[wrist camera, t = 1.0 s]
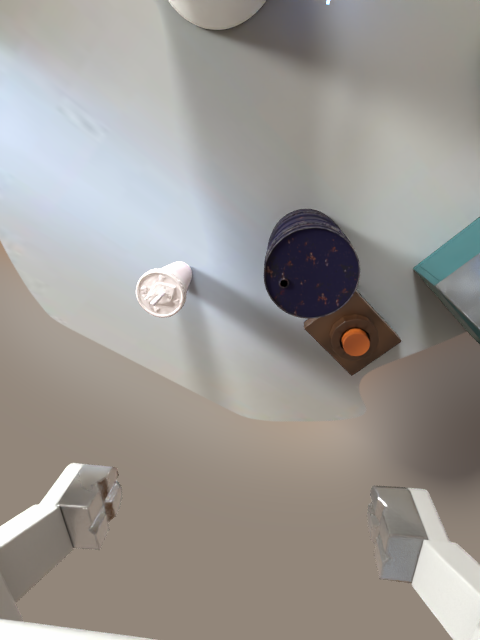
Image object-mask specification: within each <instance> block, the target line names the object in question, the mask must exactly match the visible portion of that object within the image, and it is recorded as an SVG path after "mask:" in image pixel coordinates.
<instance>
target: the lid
mask: <svg viewBox="0 0 480 640" xmlns="http://www.w3.org/2000/svg"><path fill="white" fill-rule="evenodd" d="M435 287H436V288H437V289H438V290H439V291H440V292H441V293H442V294H443V295H444V296H445V297H446V298H447V299H448V300H449V301H450V302H451V303H452V304H453V305H454V306H455V307H456V308H457V309H458V310H459V311H460V312H462V313H463V314H464V315H465V316H466V317H467V318H468V319H469V320H470V321H471V322H472V323H473V324H474V325H475V326H476V327H477V328H478V329H479V330H480V253H479V254H477V255H476V256H475V257H473V258H472V259H471V260H469V261H468V262H466V263H465V264H464V265H462V266H461V267H460V268H458V269H457V270H455V271H454V272H453V273H451V274H450V275H449V276H447V277H446V278H444V279H443V280H442V281H440V282H439V283H438V284H436V285H435Z"/></svg>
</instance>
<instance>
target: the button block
mask: <svg viewBox="0 0 480 640" xmlns="http://www.w3.org/2000/svg"><path fill="white" fill-rule="evenodd" d="M352 328H358V329H361V330H363V331H364V332H365V333H366V334H367V337H368V339H369V341H370V347H369V349H368V351H367V352H366V353H364V354H363V355H360V356H351V355H349V354H347V353H346V352H345V350H344V348H343V345H342V341H341V339H342V336H343V334H344V333H345V332H346V331H347V330H349V329H352ZM304 329H305V330H306V331H307V332H308V333H309V334H310V335H311V336H312V337H313V338H314V339H315V340H316V341H317V342H318V343H319V344H320V345H321V346H322V347H323V348H324V349H325V350H326V351H327V352H328V353H329V354H330V355H331V356H332V357H333V358H334V359H335V360H336V361H337V362H338V363H339V364H340V365H341V366H342V367H343V368H344V369H345V370H346V371H347V372H348V373H349V374H350V375H351V376H352V375H354V374H355V373H357V372H358V371H360V370H361V369H362V368H364V367H365V366H367V365H368V364H370V363H371V362H373V361H374V360H375V359H377V358H378V357H380V356H381V355H383V354H384V353H386V352H387V351H388V350H390V349H391V348H393V347H394V346H396V345H397V344H399V343H400V342H401V339H400V338H399V336H398V335H397V334H396V332H395V331H394V330H393V329H392V328H391V327H390V326H389V325H388V324H387V323H386V322H385V321H384V320H383V318H382V317H381V316H380V315H379V314H378V313H377V312H376V311H375V310H374V309H373V308H372V307H371V306H370V304H369V303H368V302H367V301H366V300H365V299H364V298H363V297H362V296H361V295H360V294H359V293H358V292H357V290H355V292H354V294H353V296H352V297H351V298H350V300H349V301H348V302H347V303H346V304H345V305H344V306H343V307H342V308H340V309H339V310H337V311H336V312H334V313H332V314H330V315H327V316H324V317H320V318H310V319H308V320H306V321H305V322H304Z"/></svg>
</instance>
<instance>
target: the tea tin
mask: <svg viewBox="0 0 480 640" xmlns="http://www.w3.org/2000/svg"><path fill="white" fill-rule="evenodd" d="M479 253H480V217H479V218H478V219H476V220H475V221H474V222H473V223H471V224H470V225H469V226H467V227H466V228H465V229H463V230H462V231H461V232H460V233H458V234H457V235H456V236H454V237H453V238H452V239H450V240H449V241H448V242H447V243H445V244H444V245H443V246H441V247H440V248H439V249H437V250H436V251H435V252H434V253H432V254H431V255H430V256H428V257H427V258H426V259H424V260H423V261H422V262H421V263H419V264H418V265H417V266H415V267H414V268H413V269H414V270H415V271H416V273H417V274H418V275H419V276H420V277H421V278H422V279H423V281H424V282H425V283H426V284H427V285H428V286H429V288H430V289H431V290H432V291H433V292H434V293H435V295H436V296H437V297H438V298H439V299H440V300H441V301H442V303H443V304H444V305H445V306H446V307H447V308H448V310H449V311H450V312H451V313H452V314H453V315H454V317H455V318H456V319H457V320H458V321H459V322H460V323H461V325H462V326H463V327H464V328H465V329H466V330H467V332H468V333H469V334H470V335H471V336H472V337H473V338H474V339H475V340H476V341H477V342H478V343H479V344H480V330H479V329H478V328H477V327H476V326H475V325H474V324H473V323H472V322H471V321H470V320H469V319H468V318H467V317H466V316H465V315H464V314H463V313H462V312H460V311H459V310H458V309H457V308H456V307H455V306H454V305H453V304H452V303H451V302H450V301H449V300H448V299H447V298H446V297H445V296H444V295H443V294H442V293H441V292H440V291H439V290H438V289H437V288H436V287H435V285H436V284H438V283H439V282H440V281H442V280H443V279H444V278H446V277H447V276H449V275H450V274H451V273H453V272H454V271H455V270H457V269H458V268H460V267H461V266H462V265H464V264H465V263H466V262H468V261H469V260H471V259H472V258H473V257H475V256H476V255H477V254H479Z"/></svg>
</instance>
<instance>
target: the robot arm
mask: <svg viewBox="0 0 480 640" xmlns="http://www.w3.org/2000/svg"><path fill="white" fill-rule="evenodd" d="M168 1H169V2H170V4H171V5H172V6H173V8H174V9H175V10H176V11H177V12H178V13H179V14H180V15H181V16H182V17H183V18H185V19H186V20H188V21H189V22H191V23H193V24H194V25H197V26H199V27H202V28H206V29H212V30H222V29H228V28H231V27H235V26H237V25H239V24H241V23H243V22H245V21H246V20H248V19H249V18H250V17H252V16H253V15H254V14H255V13H256V12H257V11H258V10H259V9H260V8H261V7H262V6H263V4H264V3H265V2H266V0H168ZM329 3H330V0H327V2H326V4H329ZM118 475H119V474H118V471H117V468H116V467H109V466H100V465H90V464H77V463H71V464H70V465H68V466H67V467H66V469H65V470H64V471H63V473H62V474H61V476H60V477H59V478H58V480H57V481H56V482H55V484H54V485H53V487H52V488H51V489H50V491H49V492H48V493H47V495H46V496H45V497H44V499H43V500H42V501H41V503H40V504H39V505H33V506H32V507H30V508H29V509H27V510H25V511H24V512H22V513H21V514H19V515H18V516H16V517H15V518H13V519H11V520H10V521H8V522H7V523H5V524H3V525H2V526H0V640H156V639H149V638H141V637H134V636H127V635H119V634H112V633H104V632H96V631H89V630H82V629H74V628H66V627H59V626H52V625H44V624H37V623H29V622H23V620H22V615H21V614H20V611H19V609H18V607H17V605H16V602H17V601H18V600H19V599H20V598H22V597H23V596H24V595H25V594H26V593H27V592H28V591H29V590H30V589H31V588H32V587H33V586H34V585H36V584H37V583H38V582H39V581H40V580H41V579H42V578H43V577H44V576H45V575H46V574H48V573H49V572H50V571H51V570H52V569H53V568H54V567H55V566H56V565H57V564H58V563H59V562H61V561H62V560H63V559H64V558H65V557H66V556H67V555H68V554H69V553H70V552H71V551H72V550H73V548H82V549H96V550H99V549H100V548H101V546H102V544H103V541H104V540H105V537H106V535H107V533H108V531H109V525H108V522H109V521H110V520H111V519H113V518H114V517H115V516H116V515H117V513H118V510H119V508H120V505H121V500H122V487H121V485H120V484H119V483H118V482H117V481H116V479H117V478H118ZM370 496H371V499H372V503H370V504H369V505H368V512H367V517H368V519H367V520H368V529H369V534H370V539H371V540H372V542H373V543H374V544H375V545H376V547H375V552H374V556H375V561H376V565H377V570H378V574H379V578H380V579H383V580H391V581H398V582H407V583H412V586H413V588H414V589H415V590H416V591H417V593H418V594H419V595H420V597H421V598H422V599H423V601H424V602H425V603H426V605H427V606H428V607H429V609H430V610H431V611H432V613H433V614H434V615H435V617H436V618H437V619H438V620H439V622H440V623H441V624H442V626H443V627H444V628H445V630H446V631H447V632H448V633H449V635H450V636H451V637H452V639H453V640H480V564H479V563H478V562H477V561H476V560H475V559H473V558H472V557H471V556H470V555H469V554H468V553H467V552H466V551H465V550H464V549H463V548H461V547H460V546H459V545H458V544H457V543H454V542H450V540H449V538H448V535H447V533H446V531H445V529H444V527H443V524H442V522H441V520H440V518H439V515H438V513H437V511H436V508H435V506H434V504H433V502H432V499H431V498H430V495H429V493H428V491H427V490H426V489H415V488H403V487H387V486H372V488H371V493H370Z"/></svg>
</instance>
